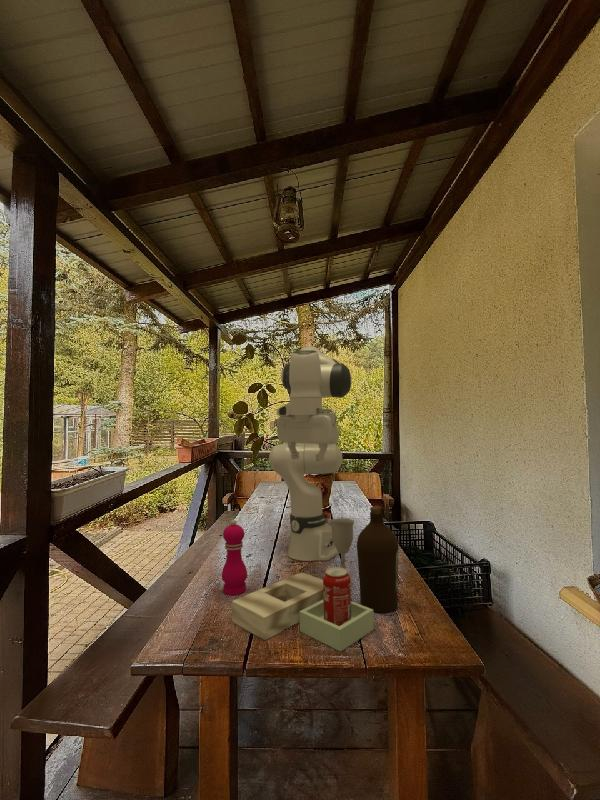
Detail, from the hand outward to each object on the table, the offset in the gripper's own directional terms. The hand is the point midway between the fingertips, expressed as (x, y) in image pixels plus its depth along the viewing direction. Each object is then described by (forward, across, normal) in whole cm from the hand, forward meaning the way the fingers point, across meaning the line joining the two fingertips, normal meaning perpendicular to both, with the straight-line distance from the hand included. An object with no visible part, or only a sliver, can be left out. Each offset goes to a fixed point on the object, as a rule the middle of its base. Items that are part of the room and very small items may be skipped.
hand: (307, 459), depth 114 cm
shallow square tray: (+37, -16, +8) cm, 41 cm away
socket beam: (+37, -1, +10) cm, 38 cm away
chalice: (+37, -1, -13) cm, 40 cm away
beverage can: (+36, -16, +8) cm, 40 cm away
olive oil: (+37, -16, -9) cm, 42 cm away
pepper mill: (+37, +19, +11) cm, 43 cm away
